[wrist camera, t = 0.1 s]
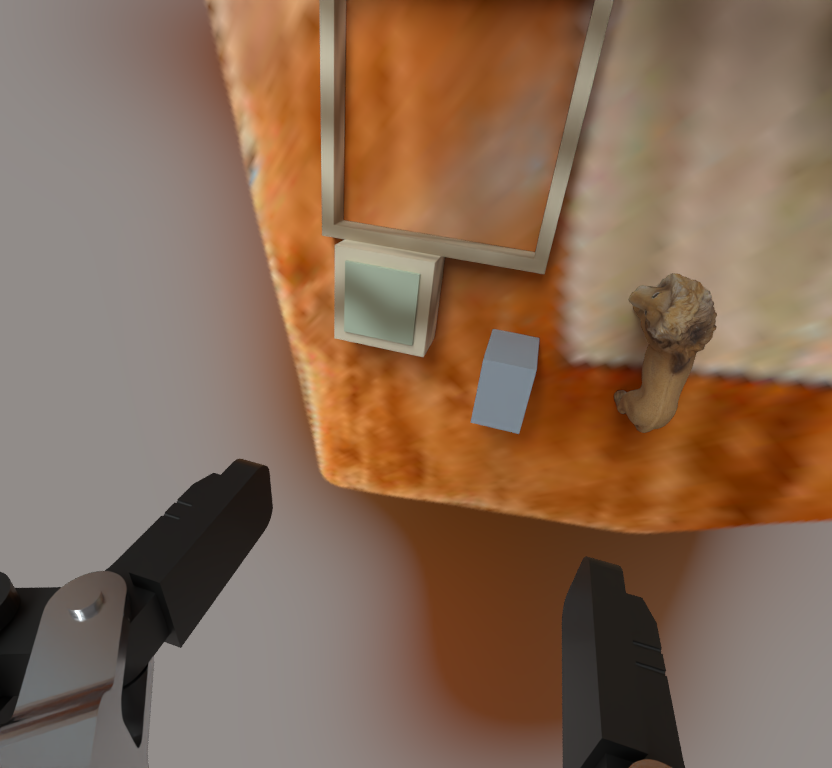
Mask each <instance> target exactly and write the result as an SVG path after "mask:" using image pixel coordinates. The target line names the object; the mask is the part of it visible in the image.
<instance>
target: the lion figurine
mask: <svg viewBox="0 0 832 768" xmlns="http://www.w3.org/2000/svg"><path fill="white" fill-rule="evenodd" d="M711 298H712V296H711V294H710V291H708V290H706V289H705V288H704V287H703V286H702V285H701V283H700V282H698V281H696V280H691V279H689V278H687V277H683V276H681V275H680V274H670V275H668V276H667V277H666V278H665V279H662V281H661V283H660V284H659V285H657V286H656V287H650V286H640V287H638V288H637V289H636V290H635V291H634V292H633V293H632V294H631V295H630V297H629V302H630V303H631V304H632V305H633V309H634V311H635V312H636V314H637V315H638V317H639V318H640V320H641V328H642V330H643V332H644V334H645V337H646V339H647V341H648V343H649V345H648V347H647V350H646V353H645V357H644V362H643V368H642V386H641V388H640V389H638V390H633V391H629V392H626V391H624V390H621V391H617V392H616V393H615V394H614V400H615V402H616V405H617V409H618V411H619V412H620V413H621V414H625V413H626V414H627V416H628V418H629V419H630V421H631V422H632V423H633V424H634V425H635V427H636V429H637V430H638V431H640V432H643V433H646V432H649V431H651V430H653V429H658V428H661V427H663V426H665V425H666V424H667V423H668V422H669V421H670V420H671V419H672V417H673V416H674V414H675V412H676V410H677V405H678V400H679V396H680V393H681V391H682V389H683V387H684V384H685V382H686V380H687V378H688V376H689V374H690V371H691V369H692V366H693V363H694V360H695V357H696V353H697V352H698V351H701V350H703V349H704V346H705V344H707V343H708V342H709V341H710V340H711V338H712V335H713V331H714V330H716V326H715V322H716V321H715V318H716V316H717V313H716V312H715V310H714V307H713V305H714V302H713V301H712V299H711Z"/></svg>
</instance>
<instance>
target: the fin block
mask: <svg viewBox="0 0 832 768" xmlns="http://www.w3.org/2000/svg"><path fill="white" fill-rule="evenodd" d="M538 349H539V338H537V337H532V336H527V335H522V334H517V333H512V332H507V331H502V330H497V329H493V330H492V334H491V337H490V340H489V343H488V346H487V349H486V353H485V356H484V359H483V364H482V369H481V374H480V379H479V384H478V389H477V394H476V399H475V404H474V409H473V414H472V419H471V423H475V424H479V425H484V426H488V427H492V428H496V429H500V430H504V431H509V432H513V433H517V434H519V432H520V429H521V425H522V421H523V418H524V414H525V411H526V407H527V403H528V400H529V396H530V392H531V389H532V385H533V381H534V378H535V374H536V371H537V360H538Z"/></svg>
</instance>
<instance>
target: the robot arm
mask: <svg viewBox="0 0 832 768" xmlns="http://www.w3.org/2000/svg"><path fill="white" fill-rule="evenodd" d="M272 509H273V505H272V494H271V484H270V473H269V469H268V467H267V466H265V465H261V464H258V463H254V462H251V461H247V460H243V459H237V460H235V461H234V462H233V463H232V464H231V465H230V466H229V467H228V468H227V469H226V470H225V471H224V472H223V473H222V474H221V475H219V474H216V473H212V474H211V475H209V476H207V477H205V478H203V479H202V480H200V481H198V482H196V483H194V484H193V485H192V486H191V487H190V488H189V489H188V490H187V491H186V492H185V493H184V494H183V495H182V496H181V497H180V498H179V499H178V501H177V503H174V504H173V505H172V506H171V507H170V508H169V509H168V510H167V511H166V512H165V514H164V516H161V517H160V518H159V519H158V520H157V521H156V522H155V523H154V524H153V525H152V526H151V527H150V528H149V529H148V530H147V531H146V532H145V533H144V534H143V535H142V536H141V537H140V538H139V539H138V540H137V541H136V542H135V543H134V544H133V545H132V546H131V547H130V548H129V549H128V550H127V551H126V552H125V553H124V554H123V555H122V556H121V557H120V558H119V559H118V560H117V561H116V562H115V563H113V565H111V566H110V567H109V568H108V569H106V570H105V571H97V572H91V573H88V574H85V575H82V576H80V577H78V578H75V579H74V580H72V581H70V582H68V583H67V584H65V585H64V586H63V587H57V588H56V587H53V588H14V586H13V584H12V583H11V581H10V579H9V578H8V576H7V575H6V574H4V573H2V572H0V768H149V765H148V738H149V724H150V712H151V711H150V710H151V698H152V683H153V671H154V655H155V653H156V652H157V651H158V649H159V648H160V647H161V645H162V644H163V643H164V642H167V643H169V644H172V645H175V646H178V647H180V648H181V647H182V645H183V644H184V643H185V641H186V640H187V638H188V637H189V635H190V634H191V633H192V631H193V630H194V629H195V627H196V626H197V624H198V623H199V622H200V620H201V619H202V617H203V616H204V615H205V613H206V612H207V611H208V609H209V608H210V606H211V605H212V604H213V602H214V601H215V599H216V598H217V596H218V595H219V594H220V592H221V591H222V590H223V588H224V587H225V585H226V584H227V583H228V581H229V580H230V578H231V577H232V576H233V574H234V573H235V571H236V570H237V569H238V567H239V566H240V564H241V563H242V561H243V560H244V559H245V557H246V556H247V555H248V553H249V552H250V550H251V549H252V548H253V546H254V545H255V543H256V542H257V541H258V539H259V538H260V536H261V535H262V534H263V532H264V531H265V529H266V527H267V526H268V524H269V521H270V518H271V514H272ZM665 671H666V669H665V664H664V659H663V654H661V643H660V638H659V634H658V628H657V623H656V621H655V620H654V618H653V616H652V614H651V612H650V611H649V609H648V607H647V605H646V604H645V602H644V600H643V598H641V597H637V596H634V595H630V594H627V593H626V591H625V584H624V577H623V571H622V568H621V567H620V566H619V565H615V564H612V563H608V562H605V561H601V560H597V559H594V558H590V557H587V556H586V557H584V559H583V560H582V562H581V565H580V567H579V569H578V571H577V573H576V576H575V578H574V580H573V582H572V584H571V586H570V589H569V591H568V593H567V596H566V599H565V602H564V607H563V614H562V695H563V696H562V700H563V701H562V702H563V703H562V709H563V712H562V714H563V768H685V765H684V761H683V757H682V752H681V746H680V742H679V737H678V731H677V726H676V721H675V716H674V710H673V706H672V700H671V695H670V690H669V685H668V680H667V676H665Z"/></svg>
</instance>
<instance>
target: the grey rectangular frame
mask: <svg viewBox="0 0 832 768" xmlns="http://www.w3.org/2000/svg"><path fill="white" fill-rule="evenodd" d="M613 1H614V0H595V1H594V5H593V9H592V14H591V18H590V22H589V26H588V31H587V35H586V39H585V43H584V48H583V52H582V56H581V60H580V65H579V69H578V73H577V77H576V81H575V86H574V90H573V94H572V98H571V103H570V107H569V111H568V115H567V120H566V124H565V128H564V132H563V137H562V141H561V145H560V149H559V153H558V158H557V162H556V166H555V170H554V175H553V179H552V183H551V187H550V192H549V196H548V200H547V204H546V209H545V213H544V217H543V221H542V226H541V230H540V234H539V238H538V242H537V247H536V251H535V252H531V251H525V250H519V249H513V248H507V247H501V246H495V245H489V244H483V243H477V242H471V241H465V240H459V239H453V238H447V237H441V236H435V235H429V234H423V233H417V232H411V231H405V230H399V229H393V228H387V227H381V226H375V225H369V224H363V223H357V222H351V221H345V220H343V217H344V139H345V60H346V0H320V83H321V171H322V236H328V237H334V238H340V239H345V240H343V241H341V242H340V243H338V244H336V245H335V338H336V339H341V340H346V341H350V342H355V343H359V344H364V345H369V346H373V347H378V348H382V349H387V350H392V351H396V352H401V353H406V354H410V355H415V356H419V357H424V356H425V354H426V352H427V350H428V349H429V347H430V345H431V343H432V341H433V340H434V337H435V330H436V322H437V315H438V307H439V300H440V292H441V284H442V277H443V269H444V262H445V257H448V258H454V259H459V260H465V261H471V262H477V263H482V264H488V265H494V266H499V267H505V268H511V269H517V270H522V271H528V272H534V273H539V274H545V270H546V266H547V262H548V258H549V254H550V250H551V246H552V242H553V238H554V234H555V230H556V226H557V222H558V218H559V214H560V210H561V206H562V203H563V199H564V195H565V191H566V187H567V183H568V179H569V175H570V171H571V167H572V163H573V159H574V155H575V151H576V147H577V143H578V139H579V135H580V131H581V127H582V124H583V120H584V116H585V112H586V108H587V104H588V100H589V96H590V92H591V88H592V84H593V80H594V76H595V72H596V68H597V64H598V60H599V56H600V52H601V48H602V44H603V41H604V37H605V33H606V29H607V25H608V21H609V17H610V13H611V9H612V5H613Z"/></svg>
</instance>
